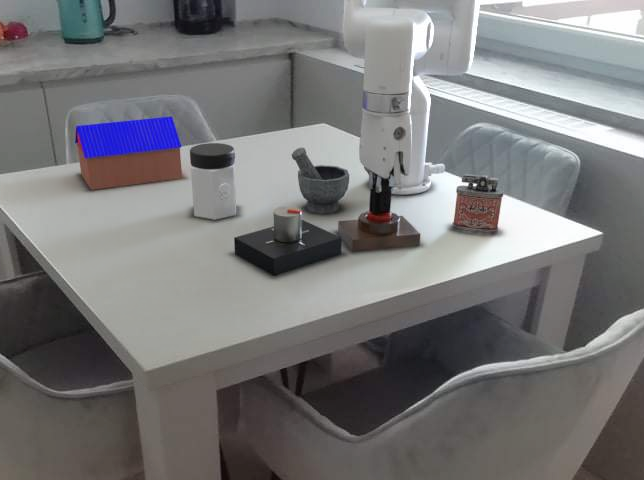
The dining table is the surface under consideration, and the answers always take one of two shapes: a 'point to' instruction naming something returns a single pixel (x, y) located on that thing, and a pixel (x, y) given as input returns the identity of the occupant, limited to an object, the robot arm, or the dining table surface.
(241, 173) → the dining table surface
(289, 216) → the dial knob
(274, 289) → the dining table surface
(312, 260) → the control panel
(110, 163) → the house
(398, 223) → the button block
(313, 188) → the mortar and pestle
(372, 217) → the button
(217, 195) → the jar
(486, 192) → the lighter
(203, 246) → the dining table surface
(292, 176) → the dining table surface
